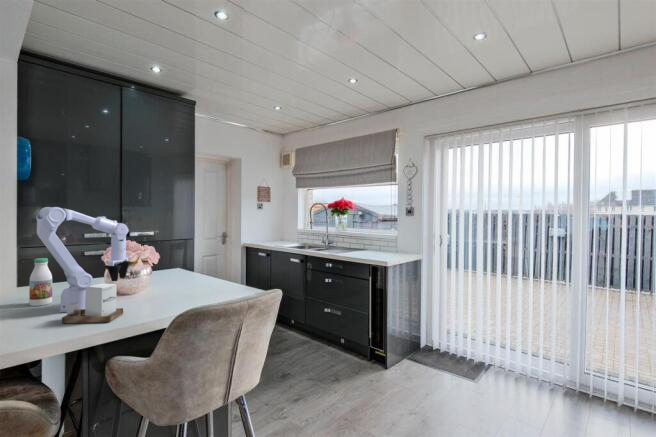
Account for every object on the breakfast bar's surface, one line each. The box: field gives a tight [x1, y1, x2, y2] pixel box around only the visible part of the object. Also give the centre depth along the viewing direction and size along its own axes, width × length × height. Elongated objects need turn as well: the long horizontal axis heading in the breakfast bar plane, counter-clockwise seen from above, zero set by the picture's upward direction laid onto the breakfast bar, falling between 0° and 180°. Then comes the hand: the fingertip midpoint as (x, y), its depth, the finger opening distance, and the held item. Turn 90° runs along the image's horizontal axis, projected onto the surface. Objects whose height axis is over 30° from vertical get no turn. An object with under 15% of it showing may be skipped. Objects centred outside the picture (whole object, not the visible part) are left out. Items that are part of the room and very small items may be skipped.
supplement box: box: [84, 283, 118, 316], centre depth 130 cm, size 7×7×13 cm
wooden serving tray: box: [61, 303, 124, 324], centre depth 130 cm, size 17×11×6 cm, turn 98°
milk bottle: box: [28, 257, 53, 307], centre depth 149 cm, size 8×8×20 cm
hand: (118, 279), depth 154 cm, fingers open, 7 cm apart
